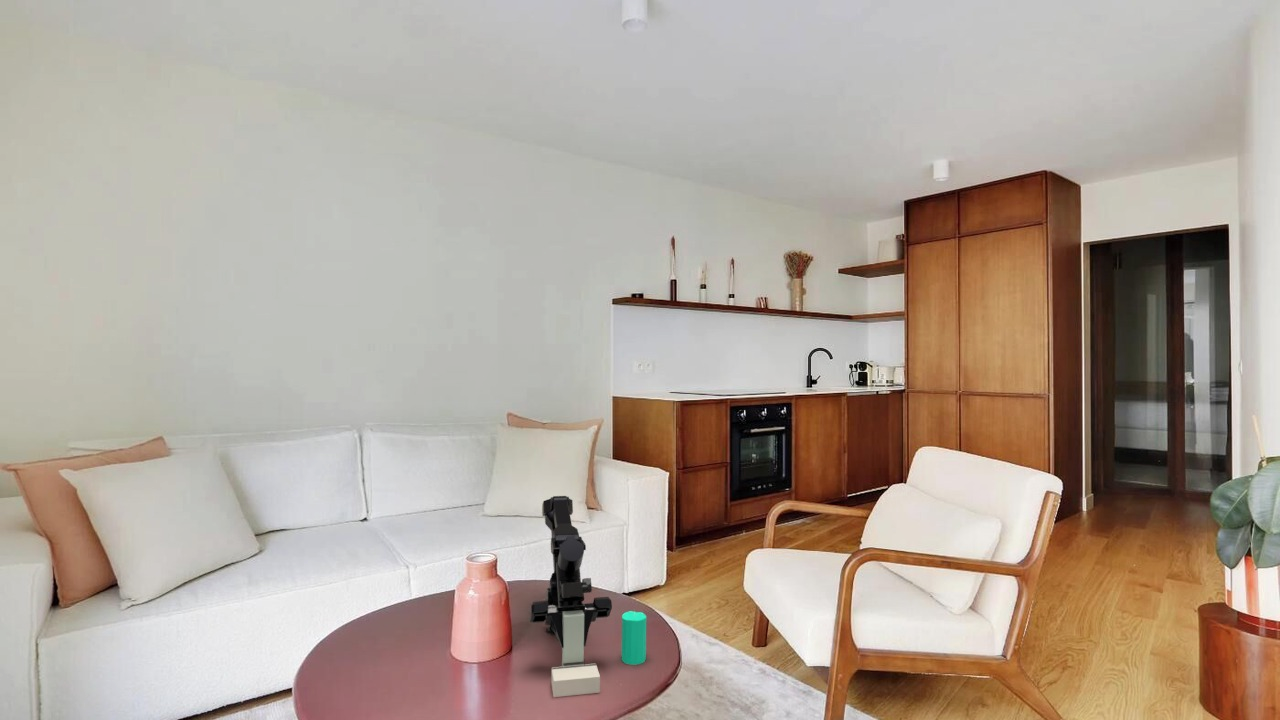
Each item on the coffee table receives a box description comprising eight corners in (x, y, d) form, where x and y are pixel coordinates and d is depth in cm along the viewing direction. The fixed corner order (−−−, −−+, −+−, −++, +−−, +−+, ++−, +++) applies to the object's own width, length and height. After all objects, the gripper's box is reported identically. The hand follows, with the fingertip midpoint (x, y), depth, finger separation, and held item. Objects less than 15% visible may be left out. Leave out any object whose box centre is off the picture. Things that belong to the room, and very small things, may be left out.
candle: (643, 666, 153) (644, 615, 153) (618, 663, 154) (619, 613, 154) (648, 654, 159) (649, 606, 159) (624, 651, 160) (625, 603, 160)
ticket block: (551, 683, 145) (551, 667, 145) (595, 678, 147) (595, 663, 147) (553, 697, 139) (553, 680, 139) (599, 692, 141) (600, 676, 141)
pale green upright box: (561, 671, 149) (562, 611, 149) (581, 670, 150) (582, 610, 150) (563, 678, 146) (563, 617, 146) (583, 676, 147) (584, 615, 147)
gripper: (531, 567, 150) (533, 636, 139) (611, 563, 154) (619, 629, 143) (529, 589, 157) (531, 655, 147) (605, 584, 161) (612, 648, 151)
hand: (573, 646), depth 147 cm, fingers closed on pale green upright box, 5 cm apart
